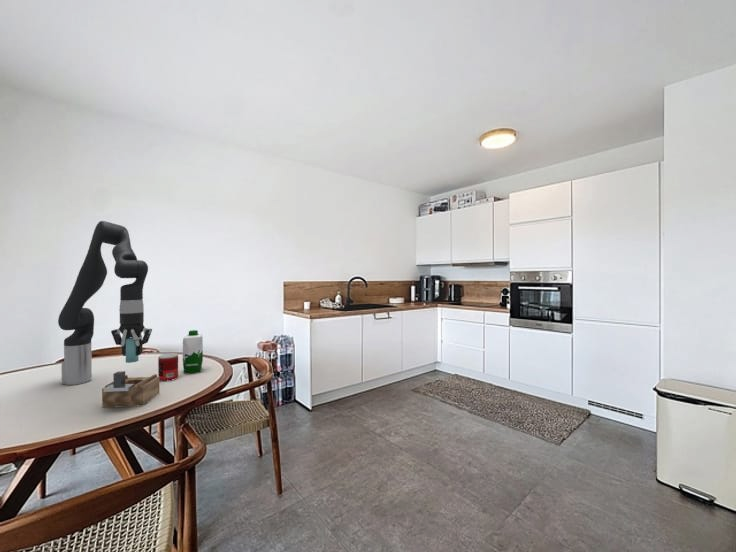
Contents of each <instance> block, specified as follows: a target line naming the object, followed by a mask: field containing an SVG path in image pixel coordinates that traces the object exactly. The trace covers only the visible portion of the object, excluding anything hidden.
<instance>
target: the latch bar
mask: <svg viewBox="0 0 736 552" xmlns="http://www.w3.org/2000/svg"><path fill="white" fill-rule="evenodd" d="M125 375H126V371H115V373H113V381H114V385H109V386H108V387H106V388H104V387H103V388H104V392H113V391H129V390H130V389H132V388H134V387H135V384H125Z"/></svg>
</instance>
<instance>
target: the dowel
mask: <svg viewBox="0 0 736 552" xmlns="http://www.w3.org/2000/svg"><path fill="white" fill-rule="evenodd" d="M136 346H137V345H136V342H135V341H134V338H132V337H130V338H127V339H126V356H125V363H128V364H131V363H136V362H138V361H139V355H138V356H136Z"/></svg>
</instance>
